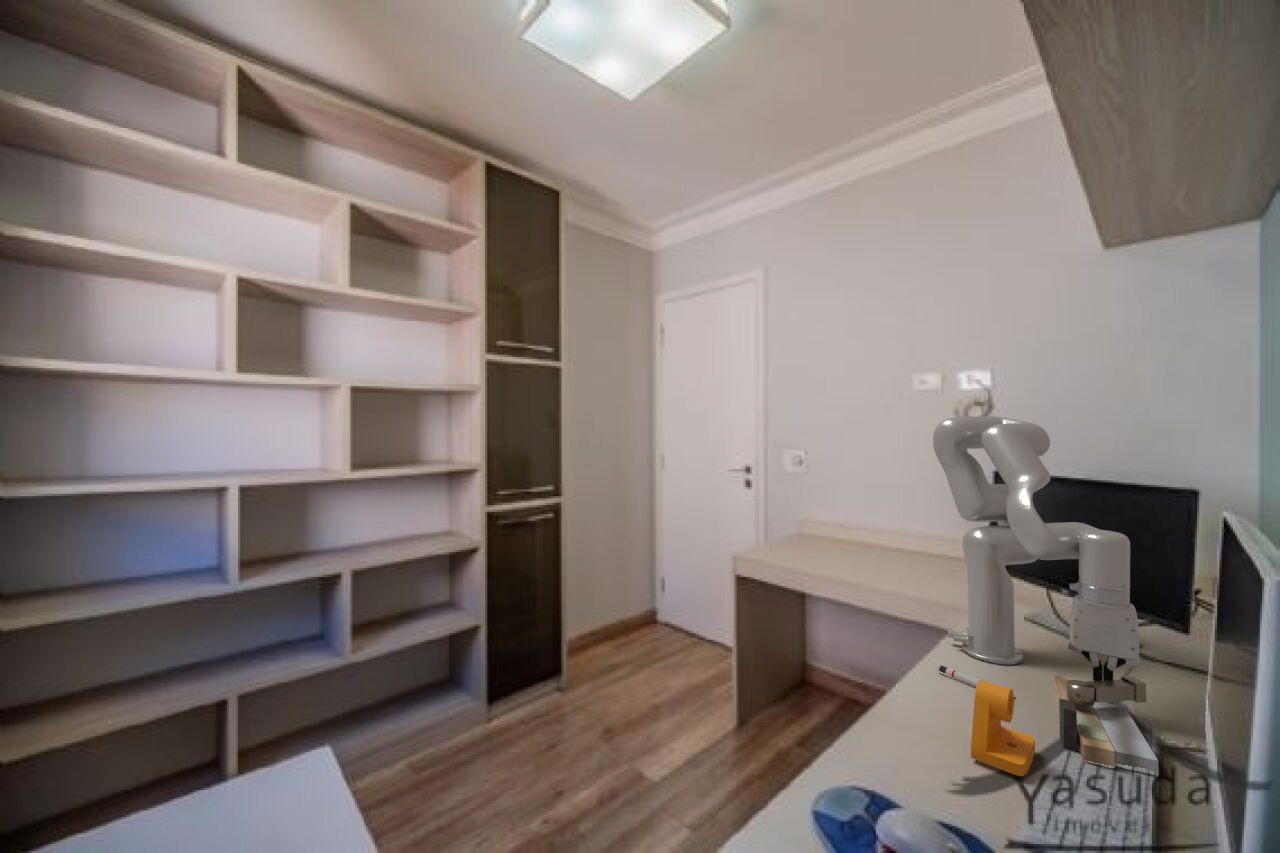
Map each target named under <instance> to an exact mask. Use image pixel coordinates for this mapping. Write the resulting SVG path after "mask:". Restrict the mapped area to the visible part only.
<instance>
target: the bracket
mask: <svg viewBox="0 0 1280 853" xmlns="http://www.w3.org/2000/svg"><path fill="white" fill-rule="evenodd" d="M1014 697H1015V694H1014V689H1012V688H1009V687H1006V686H1005V687H1004V686H1002V685H1000V684H999V685H998V684H995V683H992V682H988V681H984V680H982V679H979V681H978V683H977V686H976V688H975V691H974V705H973V714H972V729H971V741H970V758H971V759H973V760H976V761H979V762H982V763H984V764H986V765H989V766H992V767H994V768H997V769H999V770H1002V771H1004V772H1007V773H1010V774H1013V775H1015V776H1018V777H1024V776H1027V775H1028V773H1029V771H1030V768H1031V765H1032V764H1033V761H1034V754H1035V752H1036V739H1035V737H1033V736H1032V735H1029V734H1026V733H1023V732H1020V731H1018V730H1014V729H1011V728H1010V727H1009V728H1008V727H1005V726H1003V725H1002V721H1003V722H1004V723H1008V724H1010V723H1011V722H1012V720H1013V716H1014V708H1015V707H1014V706H1015V700H1014Z"/></svg>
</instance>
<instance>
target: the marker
mask: <svg viewBox="0 0 1280 853" xmlns="http://www.w3.org/2000/svg"><path fill="white" fill-rule="evenodd" d="M939 671H941V672H943V673H945V674H947V675H949V676H951V677H953V678H955V679H958V680H960V681H962V682H964V683H966V684H965V685H967V684H968V685H967V686H969V685H971V686H970V687H972V686H973V687H972V688H974V687H975V689H976V686H977V683H978V681H979V680H980V679H979V678H976V677H974V676H971V675H969V674H966V673H963V672H961V671H959V670H955V669H953V668H950V667H947V666H944V665H939V668H938V672H939ZM962 682H961V683H962ZM964 683H963V684H964ZM1016 699H1017V697H1016V696H1014V701H1015V700H1016Z"/></svg>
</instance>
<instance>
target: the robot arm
mask: <svg viewBox="0 0 1280 853" xmlns="http://www.w3.org/2000/svg"><path fill="white" fill-rule="evenodd" d="M932 446H933V447H932V448H933V452H934V453H935V456H936V458H937V460H938V462H939V464H940V465H941V467H942V469H943V471H944V474H945V476H946V479H947V483H948V485H949V489H950V491H951V492H950V493H951V494H952V498H953V501H954V503H955V506H956V509H957V512H958V513H959V515H960V517H961V518H962V519H964V520H965V521H967V522H970V523H971V522H974V523H986V522H987V523H988V522H989V523H990V522H997V525H984V526H978V527H973V528H972V529H970V530H968V531H967V532H965V534H964V536H963V539H962V549H963V554H964V558H965V562H966V569H967V595H968V597H967V601H968V602H967V603H968V604H967V605H968V607H967V609H968V610H967V613H968V615H967V616H968V628H966V630H962V631H956V630H953V629H948V630H947V638H949V639H950V638H951V639H953V641H955V642H957V643H958V642H961V649H962V648H963V650H964V651H966V652H967V653H968V654H970V655H972V656H973V657H972V656H971V657H972V658H974V657H975V658H974V659H977V658H978V659H977V660H979V659H981V660H980V661H982V660H984V661H983V662H986V661H987V663H990V662H991V663H990V664H997V665H1005V666H1006V665H1017V664H1020V663H1022V662H1023V661H1024V655H1023V653H1022V652H1021V651H1020V650H1019V649H1017V648H1016V644H1015V643H1016V641H1015V639H1016V638H1015V635H1016V634H1015V626H1016V624H1015V587H1014V586H1015V585H1014V582H1013V579H1012V577H1011V575H1010V574H1009V573H1008V571H1007V568H1006V566H1009V565H1010V566H1012V565H1024V564H1030V563H1034V562H1036V561H1038V559H1039V560H1043V561H1054V560H1055V561H1056V560H1078V582H1074V583H1072V582H1070V583H1069V590H1071V591H1074V592H1076V593H1077V594H1075V595H1074V597H1073V599H1072V604H1071V610H1070V621H1069V641H1068V645H1067V649H1069V650H1070V651H1073V652H1075V653H1077V654H1078V655H1079V654H1080V655H1082V656H1083V657H1084V658H1085V659H1086V660H1087V662H1089V663H1090V664H1091V666H1092V681H1102V680H1114V672H1115V670H1116V669H1117V668H1120V667H1122V666H1124V665H1134V666H1135V665H1140V664H1142V663H1141V662H1142V661H1141V658H1140V632H1139V631H1140V630H1139V621H1138V614H1137V609H1136V608H1135V605H1133V603H1132V602H1131V600H1130V597H1131V595H1130V594H1131V589H1130V588H1131V542H1130V538H1129V537H1128V536H1127V535H1125V534H1123V533H1121V532H1117V531H1111V530H1104V529H1099V528H1097V527H1094V526H1092V525H1090V524H1087V523H1084V522H1076V521H1072V522H1071V521H1069V522H1068V521H1067V522H1064V521H1063V522H1044V521H1043V519H1042V518H1041V516H1040V515H1039V513H1038V512H1037V509H1036V508H1035V504H1034V501H1033V500H1034V499H1033V496H1034V493H1036V492H1037V491H1039V490H1041V489H1043V488H1044V487H1045V486H1046V485H1048V484H1049V482H1050V481H1051V474H1050V472H1049V470H1047V469H1048V468H1047V467H1046V466H1045V465H1044V463H1043V462H1042V460H1041V459H1040V457H1042V456H1044V455H1045V454H1047V452H1048V451H1049V449H1050V446H1051V439H1050V436H1049V435H1048V433H1047V431H1046V429H1044V428H1043V427H1041V426H1040V425H1039V424H1035V423H1033V422H1028V421H1023V420H1018V419H1013V418H1008V417H1003V416H990V415H987V416H979V415H978V416H974V415H973V416H969V415H968V416H966V415H965V416H963V415H962V416H954V417H949V418H946V419H944V420H941V421H940V422H939V423H938V424H937V425H936V426H935V429H934V432H933V436H932ZM969 449H973V450H974V449H984V451H985V452H986V454H987V456H988V457H989V459H990V461H991V462H992V464H993V465H994V467H995V469H996V470H997V472H998V474H999V476H1000V477H1001V479H1002V480H1003V482H1004V484H1003V483H993V484H991V483H990V482H989V480H987V477H986V475H985V471H984V469H983V467H982V465H981V463H980V462H979V461H978V460H977V458H976V457H974V456H973V455H972V454H970V453H969V451H968V450H969ZM1130 602H1131V603H1130ZM963 650H962V651H963ZM964 651H963V652H964ZM968 654H967V655H968ZM970 655H969V656H970ZM1099 655H1102V656H1107V658H1106V661H1104V664H1103V663H1102V661H1101V660H1100V659H1099Z"/></svg>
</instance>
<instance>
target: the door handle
mask: <svg viewBox="0 0 1280 853" xmlns="http://www.w3.org/2000/svg"><path fill="white" fill-rule="evenodd" d="M1067 698H1068V699H1069V700H1070V701H1072V702H1074V703H1077V704H1080V705H1084V706H1093V705H1095V702H1096V703H1098V702H1114V701H1122V702H1129V701H1132V702H1134V703H1136V704H1141V703H1147V683H1146V682H1144V681H1142V680H1141V679H1137V678H1135V677H1134V676H1131V675H1130V676H1129V675H1127V676H1126V675H1125V676H1121V679H1113V680H1102V681H1093V680H1091V681H1090V680H1088V681H1084V680H1080V679H1078V680H1068V681H1067Z"/></svg>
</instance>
